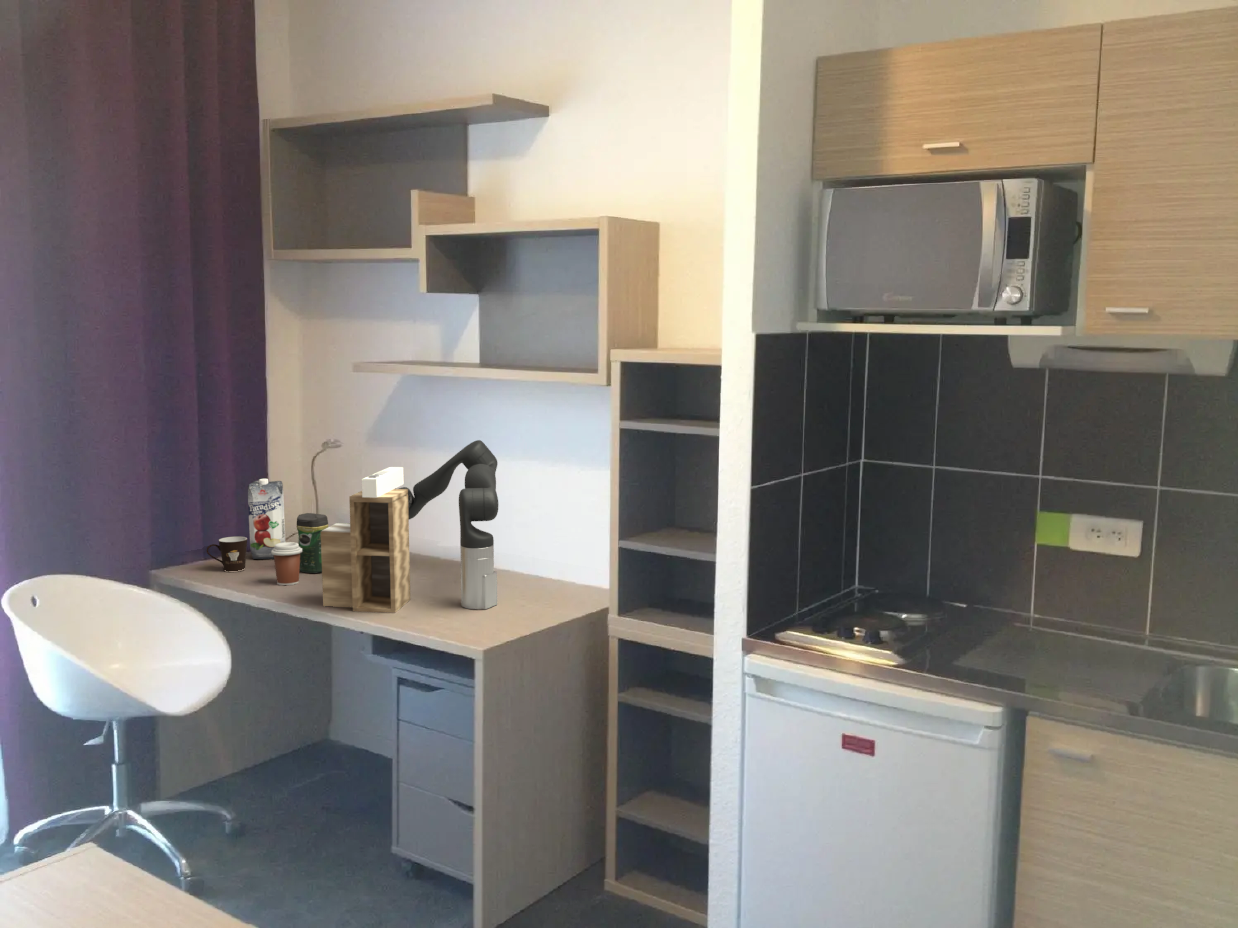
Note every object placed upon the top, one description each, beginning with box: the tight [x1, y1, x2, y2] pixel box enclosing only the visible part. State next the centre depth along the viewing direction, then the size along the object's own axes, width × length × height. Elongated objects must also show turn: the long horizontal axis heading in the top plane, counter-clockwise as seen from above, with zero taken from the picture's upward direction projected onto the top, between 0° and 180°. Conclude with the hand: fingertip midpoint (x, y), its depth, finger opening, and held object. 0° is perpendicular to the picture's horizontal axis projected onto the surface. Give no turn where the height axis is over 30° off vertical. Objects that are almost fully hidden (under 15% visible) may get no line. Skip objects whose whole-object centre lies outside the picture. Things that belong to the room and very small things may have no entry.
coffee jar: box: [296, 512, 329, 574], centre depth 344 cm, size 10×8×19 cm
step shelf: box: [321, 488, 411, 613], centre depth 304 cm, size 16×22×32 cm
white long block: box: [361, 466, 405, 498], centre depth 304 cm, size 24×4×5 cm, turn 174°
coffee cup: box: [271, 541, 302, 586], centre depth 329 cm, size 9×9×12 cm
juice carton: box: [247, 478, 286, 560], centre depth 363 cm, size 9×10×27 cm
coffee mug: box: [206, 536, 248, 571], centre depth 346 cm, size 12×9×10 cm
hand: (381, 497), depth 320 cm, fingers open, 8 cm apart
